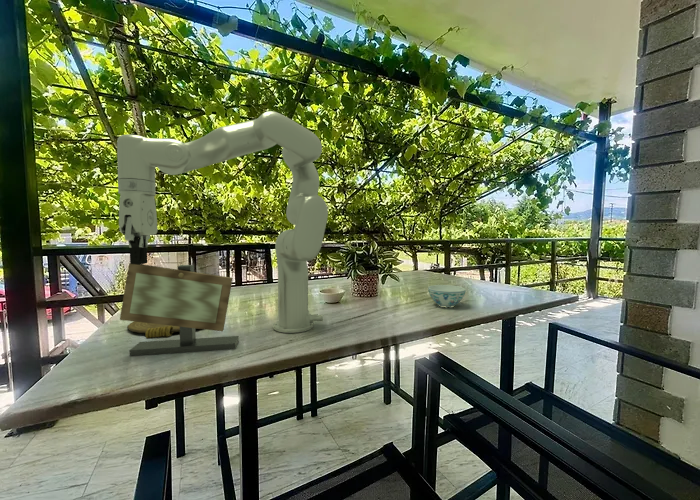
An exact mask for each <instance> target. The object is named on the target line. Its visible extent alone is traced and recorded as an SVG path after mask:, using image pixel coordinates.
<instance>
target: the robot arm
mask: <svg viewBox="0 0 700 500" xmlns="http://www.w3.org/2000/svg"><path fill="white" fill-rule="evenodd" d="M276 145H278V146H280V147H281V148H282V149H281V150H282V151H281V156H282V159H283V161H284V163H285V165H286V166H287V167H288V168H289V170H290V172H291V174H292V184H291V189H290V192H289V193H290V194H289V198H288V202H287V206H286V211H285V212H286V219H287V221H288V222H289V223H290V224H291V225H293V226H294V228H290V229H285V230H283V231H282V232H281V233H280V234H278V236H277V238H276V240H275V247H274V249H275V255H276V257H275V258H276V263H277V309H278V311H277V313H278V314H277V316H278V317H277V318H278V321H276V322H274V323H273V327H272V328H273V329H274V330H275V331H276V332H279V333H283V334H284V333H285V334H287V333H288V334H296V333H301V332H302V333H303V332H306V331H309V330H311V329H312V328H314V322H323V320H324V319H323V314H318V313H317V314H312V313H310V311H309V268H308V263H307V262H310V261H312V260H313V259H315V258H316V257H317V256H318V254H319V252H320V251H321V248H322V245H323V239H324V236H325V232H326V226H327V221H328V216H329V211H328V210H329V209H328V205H327V203H326V201H325V199H324V198H323V197H321V196H320V195H318V194H319V188H320V175H319V173H318V170H317V168H316V166H315V163H313V162H315V161H317V160H318V159H319V158H320V157H321V154H322V150H323V146H322V142H321V140H320V138H319V137H318V136H317V134H315V133H314V132H312V131H311V130H309V129H308V128H306V127H305V126H303V125H301V124H299V123H298V122H296V121H295V120H293V119H291V118H289V117H288V116H285V115H284V114H282V113H279V112H277V111H274V110H267V111H265V112H263V113H261V115H259V117H258V118H255V119H252V120H247V121H243V122H237V123H234V124H229V125H224V126H219V127H218V128H216V129H213V130H212V131H210V132H209V133H207V134H206V135H203V136H201V137H199V138H198V139H195V140H192V141H189V142H185V143H184V142H183V141H181V140H178V139H175V138H166V137H165V138H163V137H161V138H160V137H159V138H157V137H153V138H152V137H146V136H142V135H138V134H122V135H120V136H119V137H117V140H116V147H117V148H116V150H117V151H116V152H117V184H118V185H117V186H118V187H117V190H118V191H117V193H118V194H119V195H120V196H119V207H118V229H119V232H120V233H121V234H122V235H124V239H125V241H128V247H129V263H131V264H143V265H146V264H147V263H148V246H149V240H150V239H151V236H153V235H154V236H155V235H156V234H157V233H158V217H157V215H158V214H157V207H156V200H155V197H156V167H157V169H158V170H159V171H161V172H162V173H164V174H166V175H171V176H176V175H180V174H181V175H182V174H185V173H187V172H191V171H195V170H199V169H202V168H206V167H208V166H211V165H214V164H219V163H223V162H225V161H226V162H227V161H228V160H232V159H236V158H238V157H242V156H245V155H250V154H253V153H256V152H260V151H264V150H267V149H270V148H273V147H274V146H276Z"/></svg>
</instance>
